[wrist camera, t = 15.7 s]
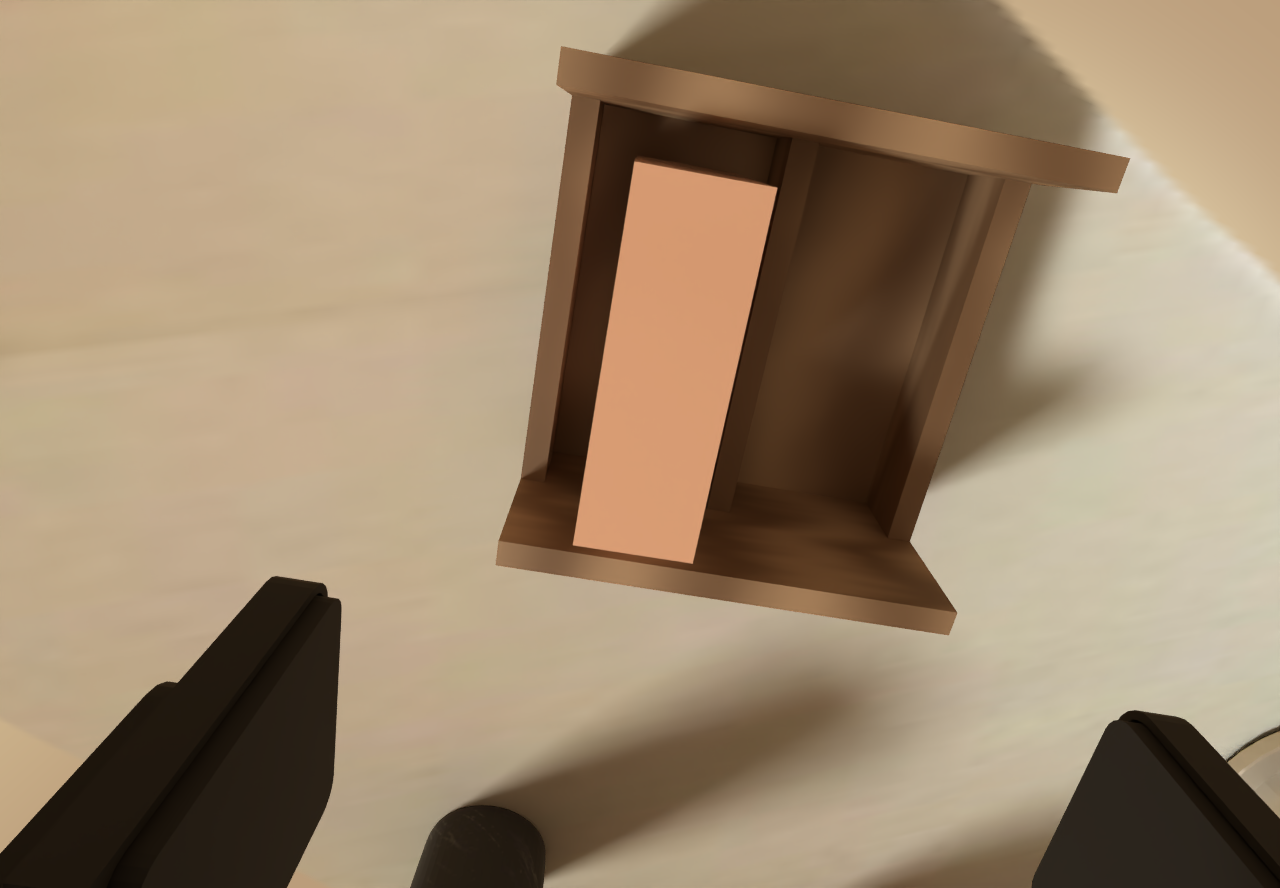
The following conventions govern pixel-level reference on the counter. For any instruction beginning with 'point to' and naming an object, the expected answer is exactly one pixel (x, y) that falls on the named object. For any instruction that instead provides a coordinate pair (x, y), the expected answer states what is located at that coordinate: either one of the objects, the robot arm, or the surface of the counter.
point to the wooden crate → (787, 332)
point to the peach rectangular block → (670, 355)
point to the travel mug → (482, 851)
